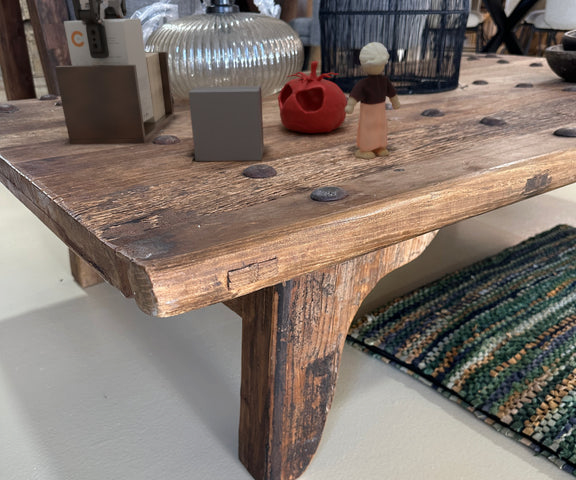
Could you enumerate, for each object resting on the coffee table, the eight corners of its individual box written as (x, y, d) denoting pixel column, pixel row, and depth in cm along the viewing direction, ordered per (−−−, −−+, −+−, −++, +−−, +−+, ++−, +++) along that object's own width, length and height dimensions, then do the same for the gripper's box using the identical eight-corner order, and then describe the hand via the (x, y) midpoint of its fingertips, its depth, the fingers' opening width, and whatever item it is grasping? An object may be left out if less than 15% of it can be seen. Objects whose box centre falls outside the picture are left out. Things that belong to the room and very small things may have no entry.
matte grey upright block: (195, 161, 69) (188, 91, 65) (200, 152, 72) (194, 86, 68) (261, 160, 68) (258, 90, 64) (263, 152, 72) (261, 85, 68)
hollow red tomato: (310, 119, 89) (310, 55, 85) (360, 128, 83) (363, 59, 78) (263, 130, 83) (261, 62, 79) (313, 140, 77) (313, 66, 72)
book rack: (70, 148, 76) (54, 66, 71) (113, 121, 92) (102, 52, 87) (144, 147, 75) (133, 65, 70) (174, 120, 91) (167, 51, 86)
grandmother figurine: (377, 147, 73) (383, 39, 67) (401, 152, 70) (409, 40, 64) (335, 158, 68) (337, 43, 63) (359, 164, 66) (363, 45, 60)
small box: (154, 117, 82) (142, 17, 76) (137, 126, 77) (122, 19, 71) (102, 116, 84) (85, 18, 78) (81, 125, 78) (62, 20, 72)
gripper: (77, -86, 75) (99, 50, 83) (29, -102, 62) (60, 61, 70) (133, -88, 75) (150, 49, 82) (96, -104, 62) (120, 60, 70)
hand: (109, 54), depth 76 cm, fingers closed on small box, 6 cm apart
